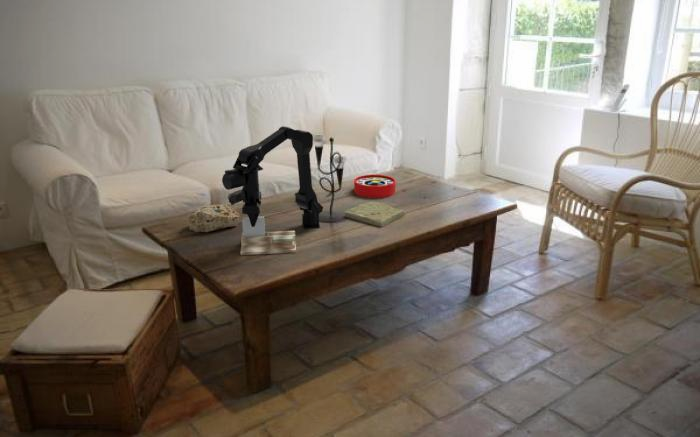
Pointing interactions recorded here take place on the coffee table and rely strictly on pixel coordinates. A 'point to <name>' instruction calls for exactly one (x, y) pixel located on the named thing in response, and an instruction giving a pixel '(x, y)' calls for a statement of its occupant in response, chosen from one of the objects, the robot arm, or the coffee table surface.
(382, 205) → the decorative tile
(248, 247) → the rack
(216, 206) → the rock
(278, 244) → the offcut stack
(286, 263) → the coffee table surface
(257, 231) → the sheet
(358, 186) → the toy clock
